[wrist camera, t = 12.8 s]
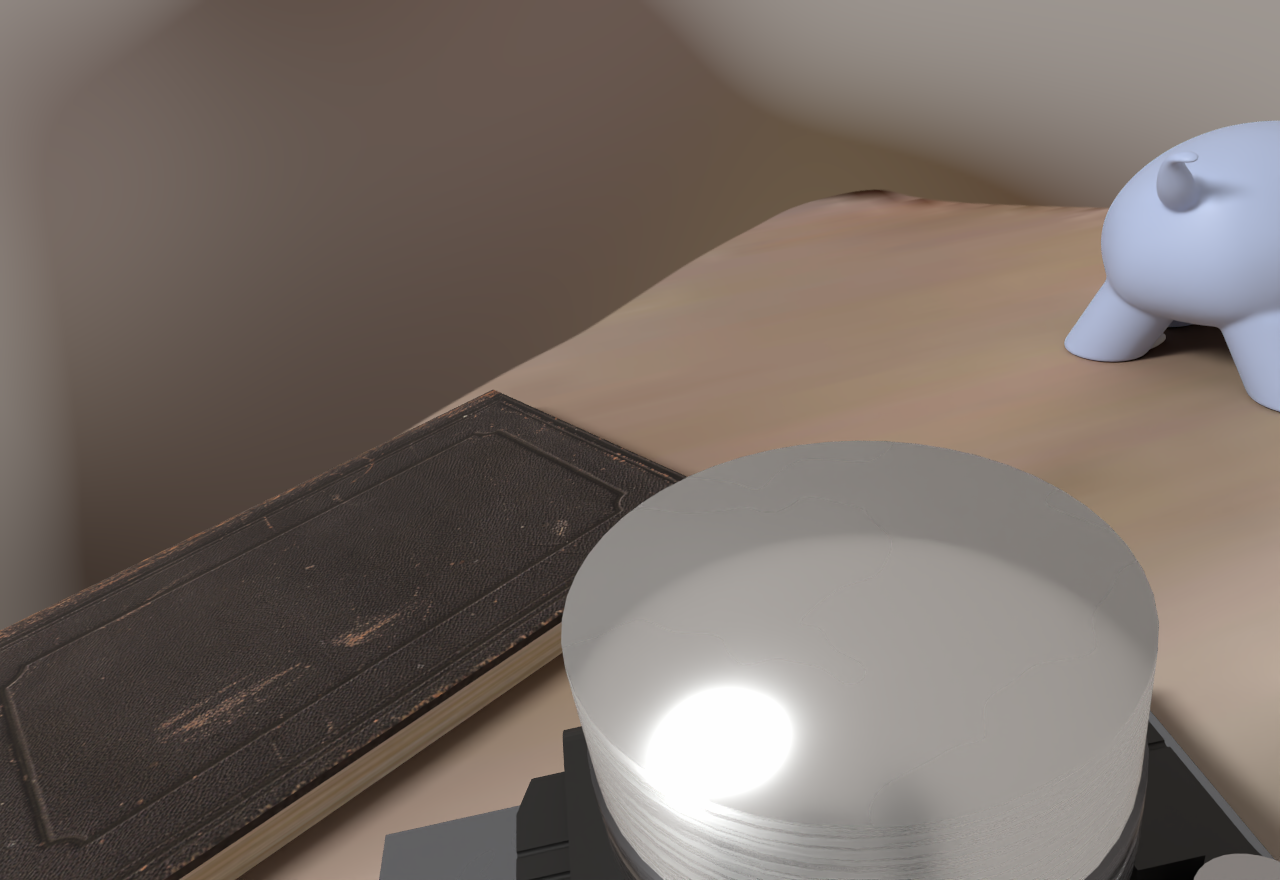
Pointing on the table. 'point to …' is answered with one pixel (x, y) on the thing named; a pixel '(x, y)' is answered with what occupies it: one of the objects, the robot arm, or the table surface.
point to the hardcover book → (298, 647)
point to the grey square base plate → (486, 843)
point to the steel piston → (864, 673)
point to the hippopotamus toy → (1195, 255)
